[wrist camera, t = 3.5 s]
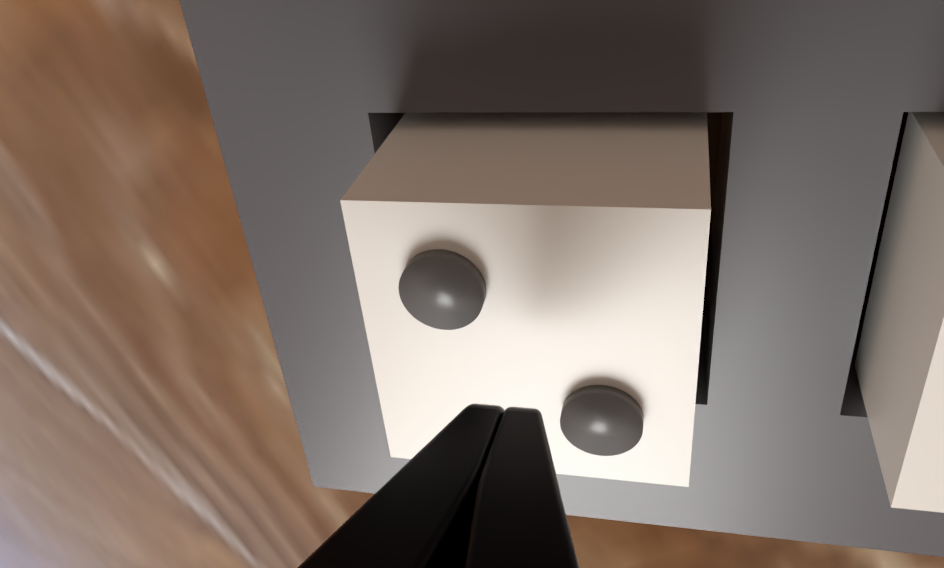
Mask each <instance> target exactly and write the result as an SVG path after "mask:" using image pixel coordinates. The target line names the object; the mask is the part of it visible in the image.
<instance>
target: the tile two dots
mask: <svg viewBox="0 0 944 568" xmlns="http://www.w3.org/2000/svg"><path fill="white" fill-rule="evenodd" d="M340 202H341V207H342V212H343V217H344V222H345V228H346V233H347V238H348V243H349V248H350V253H351V258H352V263H353V268H354V273H355V278H356V283H357V288H358V293H359V298H360V304H361V309H362V314H363V319H364V324H365V329H366V334H367V339H368V344H369V349H370V354H371V359H372V364H373V369H374V374H375V380H376V385H377V390H378V395H379V400H380V405H381V410H382V415H383V420H384V425H385V430H386V435H387V440H388V445H389V450H390V456H391V457H395V458H405V459H412V458H413V457H414V456H415V455H416V454H417V453H418V452H419V451H420V450H421V449H422V448H423V447H424V446H425V445H427V444H428V443H429V442H430V441H431V440H432V439H433V438H434V437H435V436H436V435H437V434H438V433H439V432H440V431H441V430H442V429H443V428H444V427H445V426H446V425H447V424H448V423H450V422H451V421H452V420H453V419H454V418H455V417H456V416H457V415H458V414H459V413H460V412H461V411H462V410H463V409H464V408H465V407H467V406H468V405H470V404H487V405H498V406H501V407H502V408H503V409H504V410H505V409H506V408H508V407H523V408H535V409H538V410H539V411H540V412H541V414H542V418H543V422H544V426H545V430H546V434H547V439H548V443H549V447H550V451H551V455H552V459H553V463H554V468H555V472H556V474H564V475H574V476H584V477H593V478H603V479H613V480H623V481H633V482H643V483H653V484H663V485H673V486H683V487H689V477H690V465H691V453H692V440H693V428H694V415H695V403H696V390H697V378H698V365H699V353H700V340H701V328H702V316H703V303H704V291H705V278H706V266H707V253H708V241H709V228H710V216H711V197H710V172H709V148H708V123H707V112H503V113H405V114H404V115H403V117H402V118H401V119H400V121H399V122H398V123H397V125H396V126H395V127H394V129H393V130H392V131H391V133H390V134H389V135H388V137H387V138H386V140H385V141H384V142H383V144H382V145H381V146H380V148H379V149H378V150H377V152H376V153H375V154H374V156H373V157H372V158H371V160H370V161H369V162H368V164H367V165H366V166H365V168H364V169H363V170H362V172H361V173H360V174H359V176H358V177H357V178H356V180H355V181H354V182H353V184H352V185H351V186H350V188H349V189H348V190H347V192H346V193H345V194H344V196H343V197H342V198H341V200H340Z"/></svg>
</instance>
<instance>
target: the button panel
mask: <svg viewBox="0 0 944 568" xmlns="http://www.w3.org/2000/svg"><path fill="white" fill-rule="evenodd" d="M180 3H181V7H182V11H183V14H184V18H185V22H186V25H187V29H188V32H189V36H190V40H191V43H192V47H193V51H194V54H195V58H196V61H197V65H198V69H199V72H200V76H201V80H202V83H203V87H204V90H205V94H206V98H207V101H208V105H209V109H210V112H211V116H212V119H213V123H214V127H215V130H216V134H217V138H218V141H219V145H220V148H221V152H222V156H223V159H224V163H225V167H226V170H227V174H228V177H229V181H230V185H231V188H232V192H233V195H234V199H235V203H236V206H237V210H238V214H239V217H240V221H241V224H242V228H243V232H244V235H245V239H246V243H247V246H248V250H249V253H250V257H251V261H252V264H253V268H254V272H255V275H256V279H257V282H258V286H259V290H260V293H261V297H262V301H263V304H264V308H265V311H266V315H267V319H268V322H269V326H270V330H271V333H272V337H273V340H274V344H275V348H276V351H277V355H278V359H279V362H280V366H281V369H282V373H283V377H284V380H285V384H286V387H287V391H288V395H289V398H290V402H291V406H292V409H293V413H294V416H295V420H296V424H297V427H298V431H299V435H300V438H301V442H302V445H303V449H304V453H305V456H306V460H307V464H308V467H309V471H310V474H311V478H312V482H313V485H314V487H323V488H332V489H341V490H350V491H359V492H368V493H376V492H377V491H378V490H379V489H380V488H382V487H383V486H384V485H385V484H386V483H387V482H388V481H389V480H390V479H391V478H392V477H393V476H394V475H395V474H396V473H397V472H398V471H399V470H400V469H401V468H402V467H404V466H405V465H406V464H407V463H408V462H409V461H410V460H411V459H405V458H395V457H391V456H390V450H389V445H388V440H387V435H386V430H385V425H384V420H383V415H382V410H381V405H380V400H379V395H378V390H377V385H376V380H375V374H374V369H373V364H372V359H371V354H370V349H369V344H368V339H367V334H366V329H365V324H364V319H363V314H362V309H361V304H360V298H359V293H358V288H357V283H356V278H355V273H354V268H353V263H352V258H351V253H350V248H349V243H348V238H347V233H346V228H345V222H344V217H343V212H342V207H341V202H340V200H341V198H342V197H343V196H344V194H345V193H346V192H347V190H348V189H349V188H350V186H351V185H352V184H353V182H354V181H355V180H356V178H357V177H358V176H359V174H360V173H361V172H362V170H363V169H364V168H365V166H366V165H367V164H368V162H369V161H370V160H371V158H372V157H373V156H374V154H375V153H376V152H377V150H378V149H379V148H380V146H381V145H382V144H383V142H384V141H385V140H386V138H387V137H388V135H389V134H390V133H391V131H392V130H393V129H394V127H395V126H396V125H397V123H398V122H399V121H400V119H401V118H402V117H403V115H404V114H405V113H503V112H722V116H721V129H720V141H719V153H718V165H717V177H716V189H715V201H714V213H713V226H712V238H711V250H710V262H709V274H708V286H707V298H706V311H705V316H704V315H703V316H702V328H701V340H700V353H699V365H698V378H697V390H696V403H695V415H694V428H693V440H692V453H691V465H690V477H689V487H683V486H673V485H663V484H653V483H643V482H633V481H623V480H613V479H603V478H593V477H584V476H574V475H564V474H556V476H557V480H558V484H559V488H560V492H561V496H562V501H563V505H564V509H565V513H566V515H573V516H582V517H591V518H600V519H609V520H618V521H627V522H636V523H645V524H654V525H663V526H672V527H681V528H689V529H698V530H707V531H716V532H725V533H734V534H743V535H752V536H761V537H770V538H779V539H788V540H797V541H806V542H815V543H823V544H832V545H841V546H850V547H859V548H868V549H877V550H886V551H895V552H904V553H913V554H922V555H931V556H940V557H944V513H941V512H931V511H921V510H911V509H901V508H891V506H890V502H889V498H888V494H887V491H886V487H885V483H884V479H883V475H882V471H881V467H880V463H879V459H878V455H877V451H876V448H875V444H874V440H873V436H872V432H871V428H870V424H869V420H868V416H867V412H866V409H865V405H864V401H863V397H862V393H861V389H860V385H859V381H858V377H857V373H856V370H855V366H854V365H855V361H856V356H857V351H858V346H859V342H860V337H861V332H862V328H863V324H859V321H860V317H861V312H862V307H863V302H864V298H865V293H866V288H867V283H868V279H869V274H870V269H871V264H872V259H873V255H874V250H875V245H876V240H877V236H878V231H879V226H880V221H881V217H882V212H883V207H884V202H885V198H886V193H887V188H888V183H889V178H890V174H891V169H892V164H893V159H894V155H895V150H896V145H897V140H898V136H899V131H900V126H901V121H902V116H903V112H944V0H180Z"/></svg>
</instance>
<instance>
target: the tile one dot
mask: <svg viewBox="0 0 944 568" xmlns="http://www.w3.org/2000/svg"><path fill="white" fill-rule="evenodd" d="M854 366H855V370H856V373H857V377H858V381H859V385H860V389H861V393H862V397H863V401H864V405H865V409H866V412H867V416H868V420H869V424H870V428H871V432H872V436H873V440H874V444H875V448H876V451H877V455H878V459H879V463H880V467H881V471H882V475H883V479H884V483H885V487H886V491H887V494H888V498H889V502H890V506H891V508H901V509H911V510H921V511H931V512H941V513H944V112H908V117H907V121H906V126H905V131H904V135H903V140H902V145H901V150H900V154H899V159H898V164H897V168H896V173H895V178H894V182H893V187H892V192H891V196H890V201H889V206H888V211H887V215H886V220H885V225H884V229H883V234H882V239H881V243H880V248H879V253H878V257H877V262H876V267H875V271H874V276H873V281H872V286H871V290H870V295H869V300H868V304H867V309H866V314H865V318H864V323H863V328H862V332H861V337H860V342H859V346H858V351H857V356H856V361H855V365H854Z"/></svg>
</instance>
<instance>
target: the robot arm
mask: <svg viewBox="0 0 944 568" xmlns="http://www.w3.org/2000/svg"><path fill="white" fill-rule="evenodd" d="M298 568H579V567H578V563H577V558H576V554H575V550H574V546H573V542H572V538H571V534H570V529H569V525H568V521H567V517H566V513H565V509H564V505H563V501H562V496H561V492H560V488H559V484H558V480H557V476H556V472H555V468H554V463H553V459H552V455H551V451H550V447H549V443H548V439H547V434H546V430H545V426H544V422H543V418H542V414H541V412H540V411H539V410H538V409H535V408H523V407H508V408H506V409H505V410H504V409H503V408H502V407H501V406H498V405H487V404H470V405H468V406H467V407H465V408H464V409H463V410H462V411H461V412H460V413H459V414H458V415H457V416H456V417H455V418H454V419H453V420H452V421H451V422H450V423H448V424H447V425H446V426H445V427H444V428H443V429H442V430H441V431H440V432H439V433H438V434H437V435H436V436H435V437H434V438H433V439H432V440H431V441H430V442H429V443H428V444H427V445H425V446H424V447H423V448H422V449H421V450H420V451H419V452H418V453H417V454H416V455H415V456H414V457H413V458H412V459H411V460H410V461H409V462H408V463H407V464H406V465H405V466H404V467H402V468H401V469H400V470H399V471H398V472H397V473H396V474H395V475H394V476H393V477H392V478H391V479H390V480H389V481H388V482H387V483H386V484H385V485H384V486H383V487H382V488H380V489H379V490H378V491H377V492H376V493H375V494H374V495H373V496H372V497H371V498H370V499H369V500H368V501H367V502H366V503H365V504H364V505H363V506H362V507H361V508H360V509H359V510H357V511H356V512H355V513H354V514H353V515H352V516H351V517H350V518H349V519H348V520H347V521H346V522H345V523H344V524H343V525H342V526H341V527H340V528H339V529H338V530H337V531H335V532H334V533H333V534H332V535H331V536H330V537H329V538H328V539H327V540H326V541H325V542H324V543H323V544H322V545H321V546H320V547H319V548H318V549H317V550H316V551H315V552H314V553H312V554H311V555H310V556H309V557H308V558H307V559H306V560H305V561H304V562H303V563H302V564H301V565H300V566H299V567H298Z"/></svg>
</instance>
